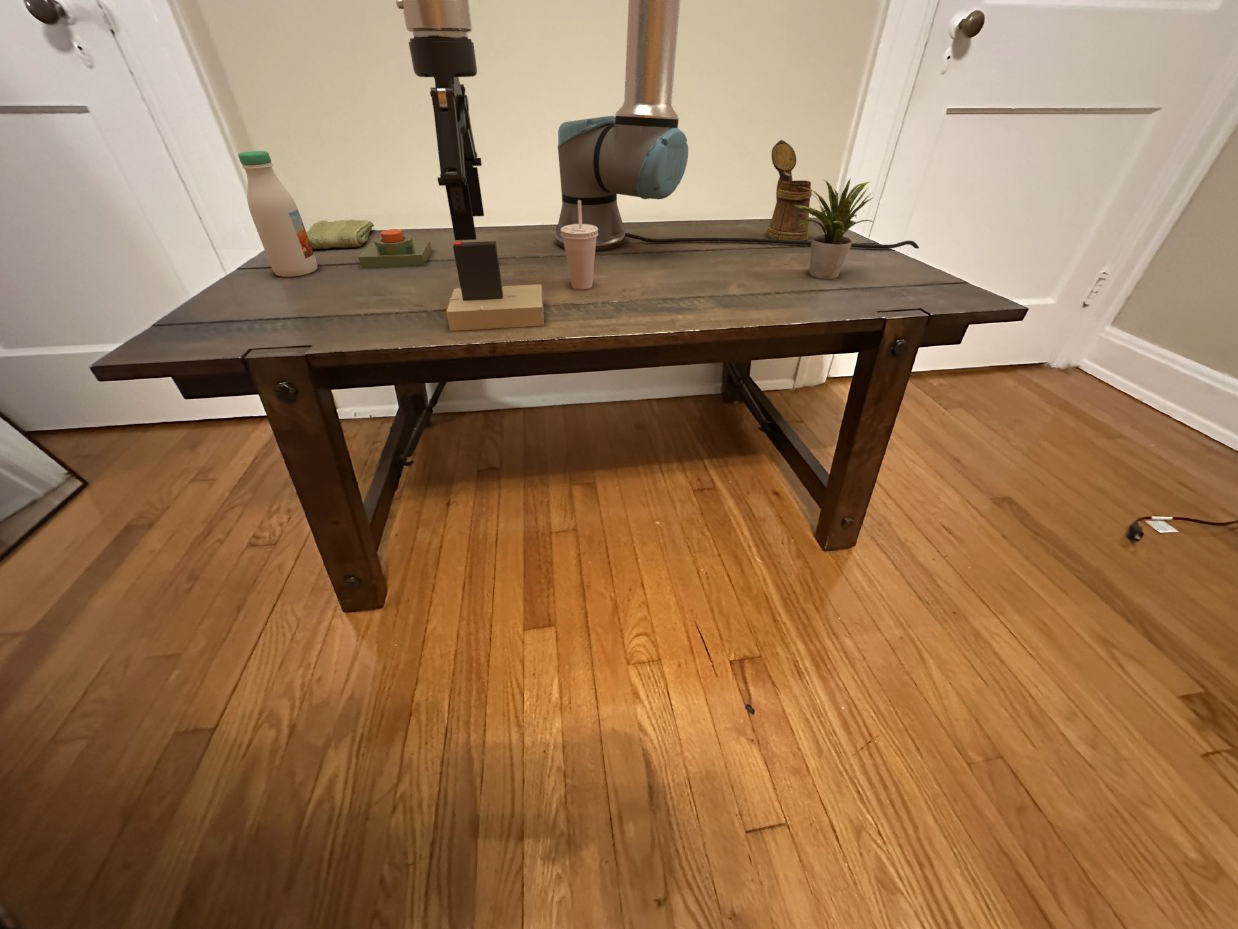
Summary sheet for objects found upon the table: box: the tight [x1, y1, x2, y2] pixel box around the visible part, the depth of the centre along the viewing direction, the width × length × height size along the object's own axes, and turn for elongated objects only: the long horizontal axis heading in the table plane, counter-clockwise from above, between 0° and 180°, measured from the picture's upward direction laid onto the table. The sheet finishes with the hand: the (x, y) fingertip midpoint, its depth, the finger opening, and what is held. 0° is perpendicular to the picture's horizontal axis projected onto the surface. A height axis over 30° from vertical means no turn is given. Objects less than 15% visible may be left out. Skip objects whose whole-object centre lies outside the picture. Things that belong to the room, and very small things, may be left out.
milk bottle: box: [237, 150, 318, 278], centre depth 96 cm, size 8×8×20 cm
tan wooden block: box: [445, 283, 545, 332], centre depth 83 cm, size 14×10×3 cm
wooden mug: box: [766, 139, 813, 241], centre depth 116 cm, size 9×14×18 cm, turn 17°
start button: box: [380, 228, 404, 242], centre depth 105 cm, size 4×4×2 cm
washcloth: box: [306, 219, 375, 251], centre depth 119 cm, size 13×18×3 cm
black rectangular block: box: [452, 240, 503, 300], centre depth 80 cm, size 6×2×8 cm, turn 97°
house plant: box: [794, 178, 875, 280], centre depth 95 cm, size 14×14×16 cm
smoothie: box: [561, 200, 598, 290], centre depth 91 cm, size 6×6×14 cm
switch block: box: [358, 234, 433, 269], centre depth 107 cm, size 12×10×4 cm
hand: (470, 227), depth 76 cm, fingers open, 13 cm apart
